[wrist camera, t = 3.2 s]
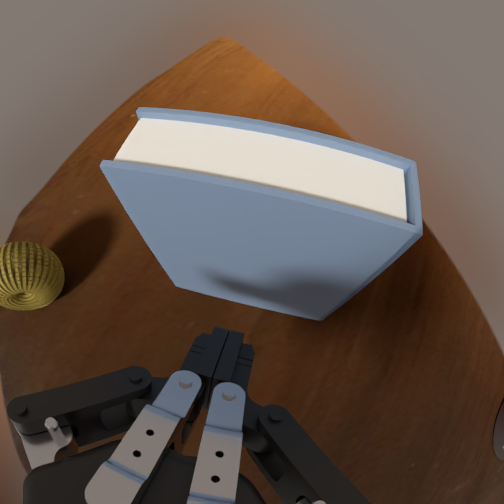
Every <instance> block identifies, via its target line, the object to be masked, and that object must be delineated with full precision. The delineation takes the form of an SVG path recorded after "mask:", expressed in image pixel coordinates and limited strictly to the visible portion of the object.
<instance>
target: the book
mask: <svg viewBox="0 0 504 504" xmlns="http://www.w3.org/2000/svg"><path fill="white" fill-rule="evenodd" d="M136 113H137V116H138V119H139V121H138V123H137V124H136V126H135V127H134V129H133V130H132V132H131V133H130V135H129V136H128V138H127V139H126V141H125V142H124V144H123V145H122V147H121V149H120V150H119V152H118V153H117V155H116V157H115V158H114V160H113V161H109V160H103V161H102V162H101V164H100V168H101V169H102V171H103V173H104V175H105V176H106V178H107V180H108V182H109V183H110V185H111V187H112V188H113V190H114V192H115V193H116V195H117V197H118V198H119V200H120V202H121V203H122V205H123V207H124V208H125V210H126V212H127V213H128V215H129V216H130V218H131V220H132V221H133V223H134V224H135V226H136V227H137V229H138V231H139V232H140V234H141V235H142V237H143V238H144V240H145V241H146V243H147V244H148V246H149V247H150V249H151V251H152V252H153V254H154V255H155V256H156V258H157V259H158V261H159V262H160V264H161V265H162V267H163V268H164V270H165V271H166V273H167V274H168V276H169V277H170V278H171V280H172V281H173V283H174V284H175V285H176V286H177V287H180V288H184V289H188V290H192V291H195V292H199V293H203V294H207V295H211V296H214V297H218V298H222V299H226V300H230V301H234V302H238V303H243V304H247V305H251V306H255V307H259V308H264V309H268V310H272V311H277V312H281V313H285V314H290V315H295V316H299V317H304V318H308V319H313V320H318V321H322V320H324V319H325V318H326V317H328V316H329V315H330V314H332V313H333V312H334V311H335V310H337V309H338V308H339V307H341V306H342V305H343V304H344V303H346V302H347V301H348V300H349V299H351V298H352V297H353V296H354V295H355V294H357V293H358V292H359V291H360V290H362V289H363V288H364V287H365V286H366V285H368V284H369V283H370V282H371V281H372V280H373V279H375V278H376V277H377V276H378V275H379V274H380V273H382V272H383V271H384V270H385V269H386V268H387V267H389V266H390V265H391V264H392V263H393V262H394V261H395V260H396V259H398V258H399V257H400V256H401V255H402V254H403V253H404V252H405V251H406V250H407V249H409V248H410V247H411V246H412V245H413V244H414V243H415V242H416V241H417V240H418V239H419V238H420V237H421V236H422V235H423V228H422V213H421V201H420V191H419V183H418V174H417V168H416V162H415V161H412V160H409V159H406V158H403V157H401V156H398V155H395V154H391V153H389V152H386V151H383V150H380V149H376V148H373V147H370V146H366V145H363V144H360V143H357V142H353V141H349V140H346V139H342V138H338V137H335V136H331V135H327V134H323V133H319V132H315V131H310V130H306V129H302V128H297V127H292V126H288V125H283V124H278V123H273V122H267V121H262V120H256V119H250V118H244V117H237V116H230V115H223V114H216V113H207V112H198V111H189V110H177V109H164V108H147V107H139V108H138V109H137V111H136Z"/></svg>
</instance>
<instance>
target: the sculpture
mask: <svg viewBox="0 0 504 504" xmlns="http://www.w3.org/2000/svg"><path fill="white" fill-rule="evenodd" d="M28 272H29V274H28ZM7 274H8V275H7ZM33 274H34V275H33ZM15 276H16V281H15ZM34 276H35V277H34ZM39 276H40V278H39ZM45 277H46V279H45ZM64 277H65V276H64V269H63V266H62V263H61V261H60V260H59V258H58V256H57V255H56V254H55V253H54V252H53V251H52V250H50V249H49V248H47V247H45V246H43V245H40V244H37V243H35V242H29V241H27V242H26V245H25V241H22V246H21V244H20V241H16V242H10V243H7V244H5V245H3V246H0V305H1V306H3V307H5V308H8V309H9V308H10V309H12V310H13V309H14V310H21V311H22V310H23V309H24V311H25V310H27V309H28V310H34V309H38V308H42V307H44V306H46V305H48V304H50V303H52V302H53V301H54V300H55V299H56V298H57V297H58V296H59V294H60V293H61V291H62V288H63V285H64V280H65V279H64ZM10 280H11V282H10ZM31 283H32V284H31Z"/></svg>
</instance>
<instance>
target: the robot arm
mask: <svg viewBox="0 0 504 504" xmlns="http://www.w3.org/2000/svg"><path fill="white" fill-rule="evenodd" d="M243 337H244V333H240V332H236V331H232V330H230V332H229V330H228V329H224V328H220V327H216V326H215V328H214V330H213V332H212V335H208V334H205V333H202V334H201V335H199V336H198V337H196V339H195V341H194V343H193V345H192V347H191V349H190V351H189V352H188V354H187V356H186V358H185V360H184V362H183V364H182V366H181V368H180V370H179V371H177V372H175V373H174V374H172V375H171V377H167V378H158V377H151V374H150V372H149V371H148V370H146V369H145V368H142V367H138V366H132V367H128V368H125V369H121V370H118V371H115V372H112V373H108V374H105V375H102V376H98V377H95V378H91V379H88V380H84V381H80V382H77V383H73V384H69V385H66V386H62V387H58V388H54V389H50V390H46V391H42V392H38V393H34V394H29V395H25V396H20V397H16V398H14V399H13V400H11V401H10V403H9V404H8V407H7V413H8V416H9V417H10V419H11V420H12V422H13V424H14V426H15V428H16V430H17V431H18V433H19V434H20V435H21V438H22V441H23V444H24V448H25V451H26V453H27V456H28V459H29V462H30V465H31V467H32V470H31V471H30V472H29V473H28V474H27V476H26V477H25V480H24V483H23V504H266V503H265V501H264V500H263V498H262V497H261V495H260V494H259V492H258V491H257V489H256V488H255V486H254V485H253V484H252V483H251V482H250V481H249V480H248V479H247V478H246V477H245V476H243V475H242V474H240V473H239V463H240V455H241V446H242V445H243V446H245V447H247V451H248V453H249V455H250V456H251V458H252V459H253V461H254V462H255V463H256V465H257V466H258V468H259V469H260V471H261V472H262V473H263V475H264V476H265V478H266V479H267V480H268V482H269V483H270V484H271V486H272V487H273V488H274V490H275V491H276V492H277V494H278V495H279V496H280V498H281V499H282V500H283V502H284V503H285V504H371V503H370V502H369V501H368V500H367V499H366V498H365V497H364V496H363V495H362V494H361V493H360V492H359V491H358V490H357V489H356V488H355V487H354V486H353V484H352V483H351V482H350V481H349V480H348V479H347V478H346V477H345V476H344V475H343V474H342V473H341V472H340V471H339V469H338V468H337V467H336V466H335V465H334V464H333V463H332V462H331V461H330V460H329V458H328V457H327V456H326V455H325V454H324V453H323V452H322V451H321V449H320V448H319V447H318V446H317V445H316V444H315V443H314V441H313V440H312V439H311V438H310V437H309V436H308V434H307V433H306V432H305V431H304V430H303V428H302V427H301V426H300V425H299V424H298V423H297V421H296V420H295V419H294V418H293V417H292V415H291V414H290V413H289V412H288V411H287V410H286V409H285V408H283V407H281V406H278V405H268V406H265V407H262V406H260V405H258V404H256V403H254V402H253V401H252V400H251V399H250V398H249V396H248V394H247V386H248V381H249V377H250V372H251V367H252V363H253V358H254V354H255V353H254V350H253V347H252V345H247V344H243V343H242V341H243ZM208 403H209V405H208ZM207 406H208V410H209V412H208V416H207V420H206V424H205V427H204V431H203V435H202V440H201V444H200V448H199V453H198V457H193V456H184V455H181V454H182V451H183V448H184V446H185V444H186V442H187V440H188V438H189V436H190V434H191V432H192V430H193V427H194V425H195V423H196V421H197V417H198V416H199V413H200V410H201V408H203V409H207ZM125 431H128V432H127V433H126V435H125V436H124V438H123V439H122V440H116V441H112V442H109V443H106V444H104V445H101V446H98V447H96V448H93V449H90V450H87V451H85V452H82V453H79V454H77V452H78V447H81V446H84V445H87V444H91V443H94V442H97V441H100V440H103V439H106V438H109V437H111V436H114V435H117V434H120V433H123V432H125ZM493 446H494V451H495V454H496V456H497V457H498V458H499V459H500V460H504V402H503V404H502V406H501V408H500V411H499V413H498V417H497V420H496V424H495V429H494V437H493Z"/></svg>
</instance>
